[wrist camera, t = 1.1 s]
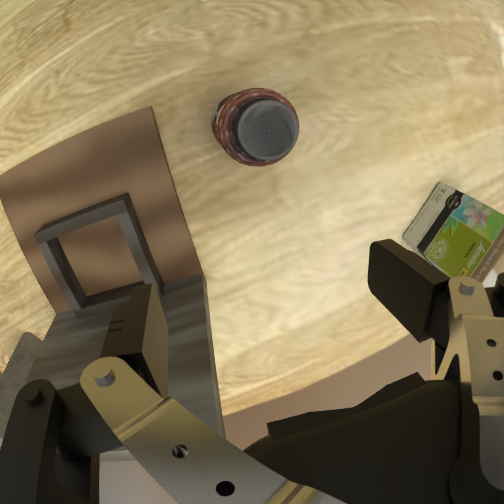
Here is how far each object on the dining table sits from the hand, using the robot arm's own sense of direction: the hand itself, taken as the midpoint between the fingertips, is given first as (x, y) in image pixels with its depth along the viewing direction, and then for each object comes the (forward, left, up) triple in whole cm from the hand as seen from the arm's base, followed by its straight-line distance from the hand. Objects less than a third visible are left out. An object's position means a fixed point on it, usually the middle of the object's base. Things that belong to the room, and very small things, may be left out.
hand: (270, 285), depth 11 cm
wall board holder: (+2, -15, -21) cm, 26 cm away
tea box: (+16, +29, -22) cm, 40 cm away
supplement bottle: (-4, +3, -22) cm, 22 cm away
